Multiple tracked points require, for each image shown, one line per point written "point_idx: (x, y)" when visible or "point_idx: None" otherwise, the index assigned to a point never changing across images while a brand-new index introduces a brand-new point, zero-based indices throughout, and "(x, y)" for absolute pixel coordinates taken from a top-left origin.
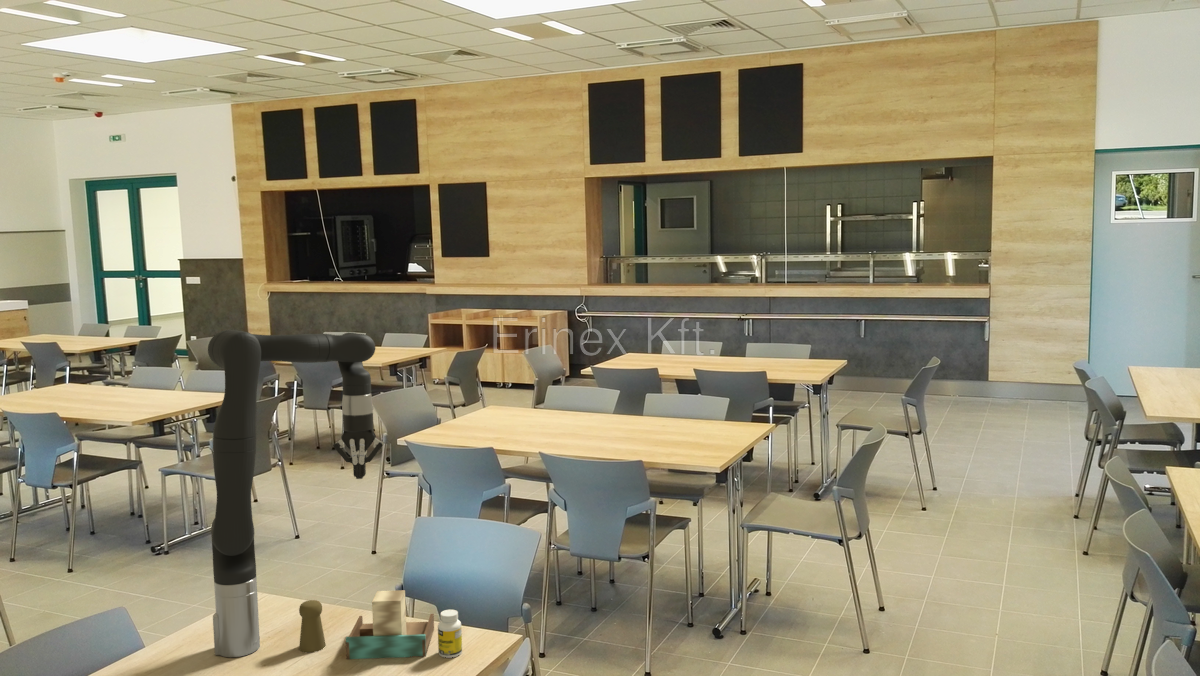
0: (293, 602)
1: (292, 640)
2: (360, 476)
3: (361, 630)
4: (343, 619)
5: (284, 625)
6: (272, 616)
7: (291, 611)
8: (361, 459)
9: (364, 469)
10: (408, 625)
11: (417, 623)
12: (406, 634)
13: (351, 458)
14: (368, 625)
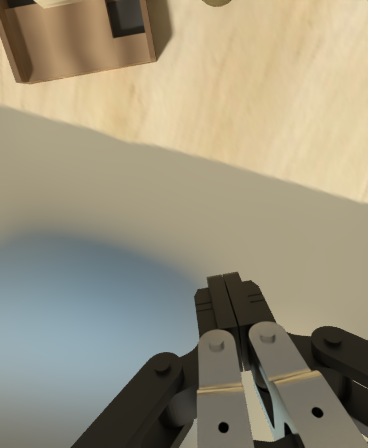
0: (311, 178)
1: (263, 9)
2: (214, 280)
3: (143, 33)
4: (205, 115)
5: (298, 79)
6: (329, 117)
7: (303, 141)
8: (222, 362)
9: (197, 317)
10: (62, 59)
11: (49, 70)
12: (43, 7)
13: (310, 364)
14: (136, 52)
